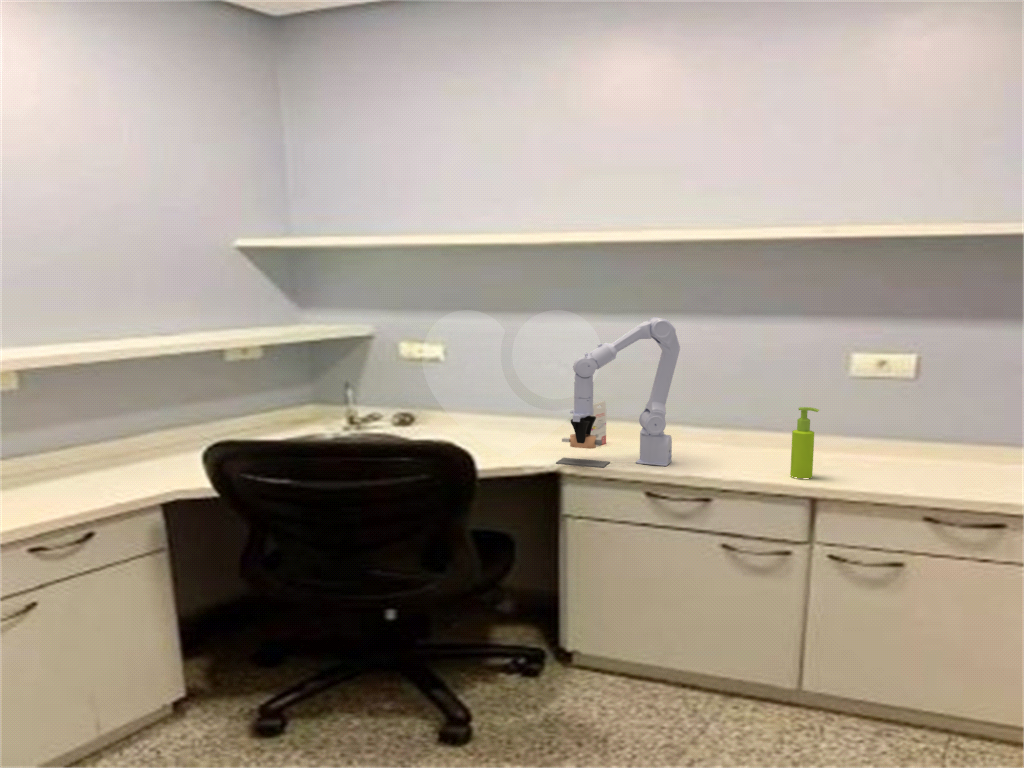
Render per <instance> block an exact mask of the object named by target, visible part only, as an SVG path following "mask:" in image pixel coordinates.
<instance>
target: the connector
mask: <svg viewBox="0 0 1024 768" xmlns="http://www.w3.org/2000/svg"><path fill="white" fill-rule="evenodd" d="M561 442H562V443H569V447H570V448H578V449H586V450H587V449H590V450H591V449H596V448H597V446H596V445H599V446H603V444H602V440H596V436H595V435H586V438H585V442H584V443H577V440H576V435H575V433H571V434H570V436H569V437H565V436H564V437H563V438H561Z"/></svg>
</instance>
